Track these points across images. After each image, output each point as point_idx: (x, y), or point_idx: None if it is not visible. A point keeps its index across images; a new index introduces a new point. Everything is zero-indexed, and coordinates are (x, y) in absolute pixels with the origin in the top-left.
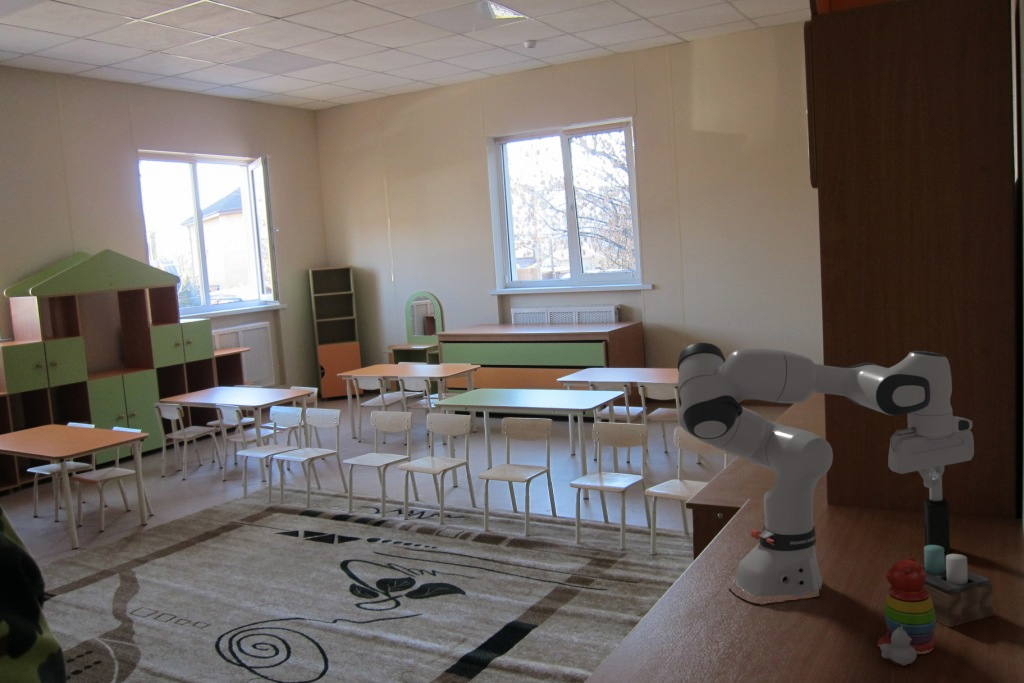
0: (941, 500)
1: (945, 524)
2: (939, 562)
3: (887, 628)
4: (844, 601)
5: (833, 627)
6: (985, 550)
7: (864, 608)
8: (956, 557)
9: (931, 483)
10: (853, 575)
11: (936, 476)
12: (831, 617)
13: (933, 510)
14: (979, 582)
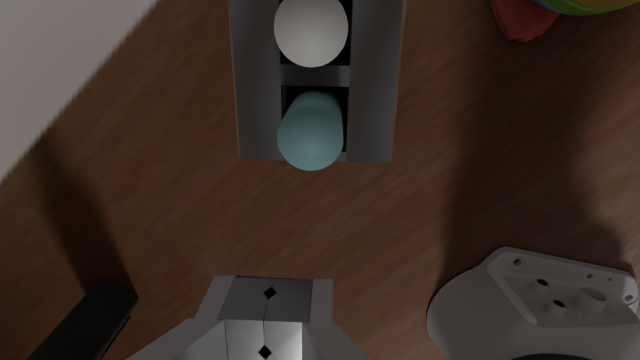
0: None
1: (66, 329)
2: (320, 99)
3: (543, 32)
4: (472, 207)
5: (603, 120)
6: (24, 253)
7: (467, 161)
8: (312, 27)
9: (311, 296)
10: (355, 289)
11: (213, 352)
12: (562, 161)
13: None
14: None
